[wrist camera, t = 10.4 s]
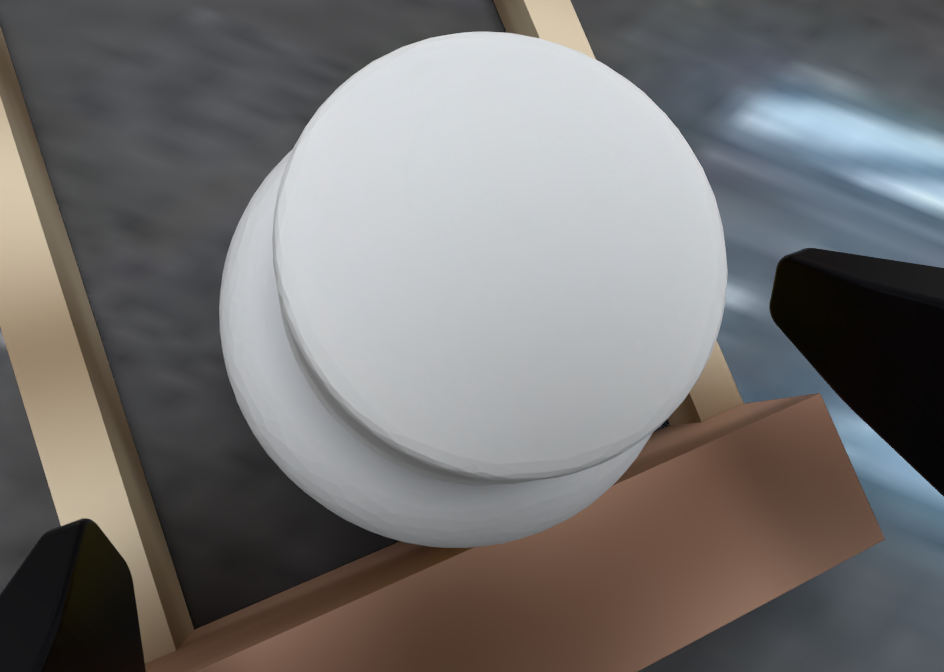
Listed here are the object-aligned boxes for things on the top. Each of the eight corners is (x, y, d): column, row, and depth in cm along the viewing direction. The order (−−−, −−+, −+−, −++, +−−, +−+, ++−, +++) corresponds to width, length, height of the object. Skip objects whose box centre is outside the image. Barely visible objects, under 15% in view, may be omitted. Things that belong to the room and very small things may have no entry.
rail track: (764, 539, 16) (896, 564, 12) (187, 829, 13) (118, 991, 9) (503, -76, 18) (547, -221, 14) (-60, 30, 15) (-204, -125, 11)
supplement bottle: (538, 479, 15) (890, 514, 5) (299, 528, 14) (199, 688, 4) (494, 256, 16) (730, -61, 6) (265, 285, 15) (117, -54, 5)
